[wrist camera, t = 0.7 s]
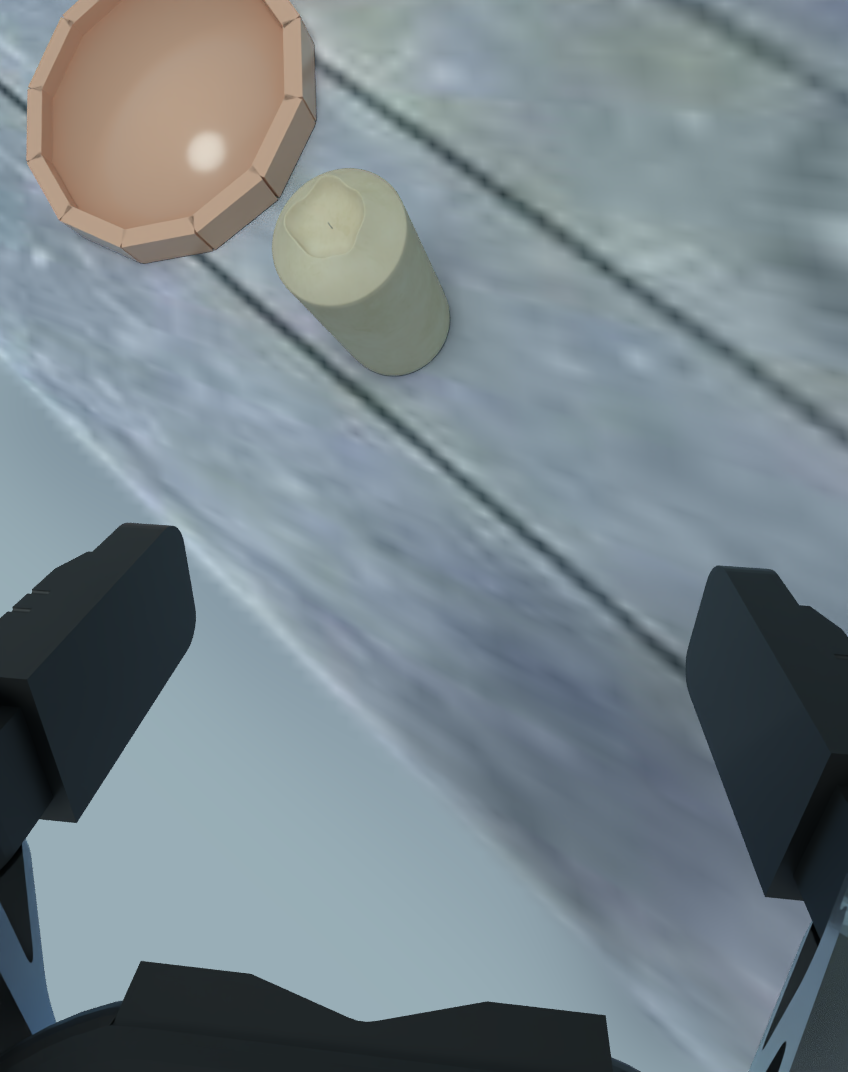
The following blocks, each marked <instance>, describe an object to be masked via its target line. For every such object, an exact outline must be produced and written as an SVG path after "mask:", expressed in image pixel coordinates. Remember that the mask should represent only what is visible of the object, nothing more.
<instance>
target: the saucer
mask: <svg viewBox="0 0 848 1072" xmlns="http://www.w3.org/2000/svg"><path fill="white" fill-rule="evenodd" d="M63 16H64V18H62V17H61V18H60V20H59V22H58V25H57V27H56V29H55V31H54V33H53V35H52V37H51V39H50V42H49V44H48V46H47V48H46V50H45V52H44V54H43V57H42V59H41V61H40V63H39V65H38V67H37V69H36V71H35V74H34V76H33V78H32V80H31V82H30V84H29V86H28V87H29V88H30V89H28V98H27V162H28V163H27V164H28V166H29V167H30V169H31V171H32V173H33V175H34V176H35V178H36V180H37V182H38V183H39V185H40V187H41V189H42V190H43V192H44V194H45V196H46V198H47V199H48V201H49V203H50V205H51V206H52V208H53V210H54V212H55V214H56V215H57V217H58V219H59V220H60V221H61V222H63V223H64V224H65V225H67V226H68V227H70V228H71V229H72V230H74V231H75V232H77V233H78V234H79V235H81V236H82V237H84V238H86V239H88V240H90V241H92V242H94V243H97V244H99V245H101V246H103V247H106V248H108V249H110V250H112V251H115V252H117V253H119V254H121V255H123V256H126V257H128V258H130V259H132V260H135V261H137V262H139V263H143V264H144V263H150V262H155V261H161V260H166V259H172V258H177V257H183V256H188V255H194V254H199V253H205V252H210V251H213V248H214V249H215V250H216V249H217V248H218V247H220V246H221V245H222V244H223V243H225V242H226V241H227V240H228V239H230V238H231V237H232V236H233V235H235V234H236V233H237V232H238V231H240V230H241V229H242V228H243V227H245V226H246V225H247V224H248V223H250V222H251V221H252V220H253V219H255V218H256V217H257V216H258V215H260V214H261V213H262V212H263V211H265V210H266V209H267V208H268V207H270V206H271V205H272V204H273V203H275V202H276V201H277V200H278V199H277V197H280V196H281V194H282V192H283V190H284V188H285V186H286V184H287V182H288V179H289V177H290V175H291V173H292V171H293V169H294V167H295V165H296V163H297V161H298V159H299V157H300V155H301V153H302V151H303V149H304V147H305V144H306V142H307V140H308V138H309V136H310V134H311V132H312V130H313V128H314V126H315V124H316V123H315V121H316V92H315V58H314V44H313V41H312V39H311V37H310V35H309V33H308V31H307V29H306V27H305V25H304V23H303V21H302V19H301V17H300V15H299V14H298V12H297V11H296V9H295V8H294V7H293V5H292V4H291V3H290V1H289V0H79V1H77V2H76V3H75V4H74V5H73V6H72V7H71V8H70V9H69V10H68V11H66V12H65V13H64V14H63ZM276 196H277V197H276Z"/></svg>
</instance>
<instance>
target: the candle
mask: <svg viewBox="0 0 848 1072" xmlns="http://www.w3.org/2000/svg"><path fill="white" fill-rule="evenodd" d="M272 253H273V260H274V265H275V268H276V271H277V273H278V275H279V277H280V279H281V281H282V282H283V284H284V285H285V286H286V288H287V289H288V290H289V291H290V292H291V293H292V294H293V295H294V296H295V297H296V298H297V299H298V300H299V301H300V302H301V303H302V304H303V305H304V306H305V307H306V308H307V309H308V310H309V311H310V312H311V313H312V314H313V316H314V317H315V318H316V319H317V320H318V321H319V322H320V323H321V324H322V325H323V326H324V327H325V328H326V329H327V330H328V331H329V332H330V333H331V334H332V335H333V336H334V337H335V338H336V339H337V340H338V341H339V342H340V343H341V344H342V345H343V346H344V347H345V349H346V350H347V351H348V352H349V353H350V354H351V355H352V356H353V357H354V358H355V359H356V360H357V361H358V362H360V363H361V364H362V365H363V366H365V367H366V368H368V369H370V370H371V371H374V372H376V373H379V374H382V375H388V376H400V375H405V374H409V373H412V372H414V371H417V370H419V369H420V368H422V367H424V366H425V365H426V364H428V363H429V362H430V361H431V360H432V359H433V358H434V357H435V356H436V355H437V354H438V352H439V351H440V350H441V348H442V346H443V344H444V342H445V340H446V338H447V334H448V331H449V324H450V314H449V306H448V303H447V299H446V297H445V295H444V292H443V290H442V287H441V285H440V283H439V281H438V278H437V276H436V274H435V272H434V270H433V268H432V265H431V263H430V261H429V259H428V257H427V255H426V252H425V250H424V248H423V246H422V244H421V242H420V239H419V237H418V235H417V233H416V231H415V229H414V226H413V224H412V222H411V220H410V218H409V216H408V213H407V211H406V209H405V207H404V205H403V203H402V201H401V199H400V197H399V195H398V194H397V192H396V191H395V190H394V188H393V187H392V186H391V185H390V184H389V183H388V182H387V181H386V180H384V179H383V178H381V177H380V176H378V175H376V174H374V173H372V172H369V171H365V170H362V169H354V168H344V169H337V170H333V171H329V172H326V173H323V174H321V175H319V176H317V177H315V178H313V179H311V180H310V181H308V182H307V183H306V184H304V185H303V186H302V187H301V188H299V189H298V190H297V191H296V192H295V193H294V194H293V196H292V197H291V198H290V199H289V200H288V202H287V203H286V205H285V206H284V208H283V210H282V211H281V213H280V215H279V218H278V220H277V223H276V226H275V229H274V234H273V240H272Z"/></svg>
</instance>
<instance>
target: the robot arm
mask: <svg viewBox="0 0 848 1072" xmlns="http://www.w3.org/2000/svg"><path fill="white" fill-rule="evenodd" d="M195 622H196V611H195V604H194V598H193V592H192V586H191V581H190V575H189V569H188V563H187V557H186V551H185V546H184V541H183V537H182V534H181V532H180V531H179V529H178V528H177V527H175V526H167V525H153V524H139V523H124V524H122V525H121V526H119V527H118V528H117V529H116V530H115V531H114V532H113V533H112V534H111V535H110V536H109V537H108V538H106V540H104V541H103V542H102V543H101V544H100V545H99V546H98V547H97V548H96V549H95V550H94V551H93V552H86V553H84V554H82V555H80V556H79V557H77V558H75V559H73V560H71V561H69V562H67V563H65V564H63V565H61V566H59V567H57V568H55V569H54V570H53V571H52V572H51V573H50V574H49V575H47V576H46V577H45V578H44V579H43V580H42V581H41V582H40V583H39V584H38V585H36V586H35V587H34V588H33V589H32V594H26V595H25V596H24V597H23V598H22V599H21V600H20V601H19V602H18V603H17V604H15V605H14V606H13V611H12V612H7V613H6V614H4V615H3V616H2V617H1V618H0V1072H640V1071H638V1070H637V1069H635V1068H633V1067H631V1066H630V1065H628V1064H625V1063H623V1062H621V1061H619V1060H616V1059H614V1058H612V1057H611V1054H610V1046H609V1038H608V1031H607V1023H606V1016H605V1015H597V1014H589V1013H581V1012H572V1011H564V1010H555V1009H546V1008H537V1007H529V1006H521V1005H512V1004H503V1003H495V1002H482V1003H476V1004H470V1005H465V1006H459V1007H454V1008H448V1009H442V1010H436V1011H431V1012H425V1013H419V1014H414V1015H409V1016H402V1017H397V1018H391V1019H386V1020H380V1021H372V1022H363V1021H356V1020H354V1019H351V1018H348V1017H346V1016H344V1015H341V1014H339V1013H337V1012H335V1011H333V1010H330V1009H328V1008H326V1007H324V1006H321V1005H319V1004H317V1003H315V1002H312V1001H310V1000H308V999H306V998H303V997H301V996H299V995H297V994H295V993H292V992H290V991H288V990H286V989H283V988H281V987H279V986H277V985H274V984H272V983H270V982H268V981H265V980H263V979H261V978H259V977H257V976H254V975H252V974H247V973H239V972H230V971H221V970H213V969H204V968H196V967H187V966H179V965H170V964H161V963H153V962H145V961H141V962H140V964H139V966H138V969H137V971H136V973H135V975H134V977H133V980H132V982H131V984H130V986H129V988H128V991H127V993H126V995H125V997H124V1000H123V1001H118V1002H114V1003H110V1004H107V1005H103V1006H100V1007H97V1008H93V1009H90V1010H87V1011H84V1012H81V1013H78V1014H76V1015H73V1016H71V1017H69V1018H66V1019H64V1020H61V1021H59V1022H57V1023H56V1020H55V1017H54V1013H53V1011H52V1007H51V1003H50V999H49V995H48V991H47V985H46V979H45V971H44V963H43V954H42V945H41V937H40V928H39V919H38V911H37V902H36V893H35V885H34V876H33V868H32V858H31V852H30V848H29V845H28V843H27V841H26V837H27V836H28V834H29V833H30V831H31V830H32V828H33V827H34V826H35V824H36V823H37V821H38V820H39V819H43V820H53V821H62V822H73V823H77V822H78V820H79V818H80V817H81V815H82V814H83V812H84V810H85V809H86V807H87V806H88V804H89V803H90V801H91V800H92V798H93V797H94V795H95V793H96V792H97V790H98V789H99V787H100V786H101V784H102V783H103V781H104V779H105V778H106V776H107V775H108V773H109V772H110V770H111V769H112V767H113V765H114V764H115V762H116V761H117V759H118V758H119V756H120V754H121V753H122V751H123V750H124V748H125V747H126V745H127V744H128V742H129V740H130V739H131V737H132V736H133V734H134V733H135V731H136V729H137V728H138V726H139V725H140V723H141V722H142V720H143V719H144V717H145V715H146V714H147V712H148V711H149V709H150V707H151V706H152V705H153V703H154V701H155V700H156V698H157V697H158V695H159V694H160V692H161V691H162V689H163V687H164V686H165V684H166V683H167V681H168V679H169V678H170V677H171V675H172V673H173V672H174V670H175V668H176V667H177V665H178V664H179V662H180V661H181V659H182V658H183V656H184V655H185V653H186V652H187V650H188V648H189V646H190V644H191V641H192V638H193V634H194V630H195ZM686 682H687V687H688V691H689V694H690V697H691V700H692V702H693V705H694V708H695V711H696V713H697V716H698V719H699V721H700V724H701V727H702V729H703V732H704V735H705V737H706V740H707V743H708V745H709V748H710V751H711V753H712V756H713V759H714V761H715V764H716V767H717V769H718V772H719V775H720V777H721V780H722V783H723V786H724V788H725V791H726V794H727V796H728V799H729V802H730V804H731V807H732V810H733V812H734V815H735V818H736V820H737V823H738V826H739V828H740V831H741V834H742V836H743V839H744V842H745V844H746V847H747V850H748V852H749V855H750V858H751V860H752V863H753V866H754V869H755V871H756V874H757V877H758V879H759V882H760V885H761V887H762V890H763V893H764V895H765V897H771V898H781V899H791V900H800V901H804V903H805V905H806V907H807V910H808V912H809V914H810V917H811V919H812V922H811V923H810V925H809V927H808V929H807V931H806V933H805V935H804V937H803V939H802V942H801V944H800V946H799V949H798V951H797V954H796V956H795V959H794V961H793V964H792V966H791V969H790V971H789V974H788V976H787V978H786V981H785V983H784V986H783V988H782V991H781V993H780V996H779V998H778V1001H777V1003H776V1005H775V1008H774V1010H773V1013H772V1015H771V1018H770V1020H769V1023H768V1025H767V1028H766V1030H765V1033H764V1035H763V1037H762V1040H761V1042H760V1045H759V1047H758V1050H757V1052H756V1055H755V1057H754V1060H753V1062H752V1064H751V1067H750V1069H749V1071H748V1072H848V637H847V635H846V634H845V633H844V631H843V630H842V629H841V628H839V627H838V626H836V625H835V624H834V623H832V622H831V621H830V620H828V619H827V618H825V617H824V616H823V615H821V614H820V613H819V612H817V611H816V610H814V609H813V608H812V607H810V606H800V605H799V604H798V603H797V602H796V600H795V599H794V597H793V596H792V594H791V593H790V592H789V590H788V589H787V587H786V586H785V584H784V583H783V582H782V580H781V579H780V577H779V576H778V575H777V573H776V572H775V571H773V570H771V569H760V568H746V567H732V566H716V567H714V568H713V569H712V571H711V572H710V574H709V577H708V579H707V582H706V586H705V590H704V593H703V597H702V600H701V604H700V607H699V611H698V614H697V618H696V622H695V625H694V629H693V632H692V636H691V639H690V643H689V646H688V651H687V656H686Z"/></svg>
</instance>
